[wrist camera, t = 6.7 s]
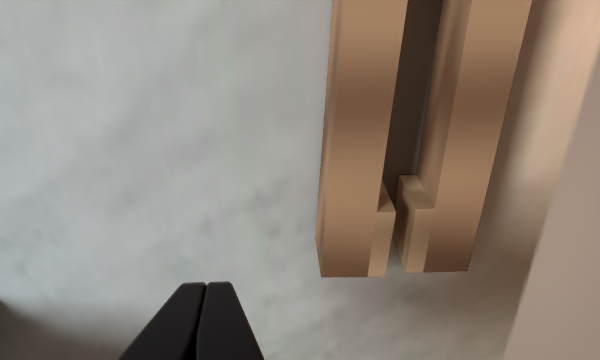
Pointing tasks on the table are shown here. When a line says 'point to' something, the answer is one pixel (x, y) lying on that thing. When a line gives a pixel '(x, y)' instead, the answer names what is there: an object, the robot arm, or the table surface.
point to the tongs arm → (358, 138)
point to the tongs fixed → (459, 133)
